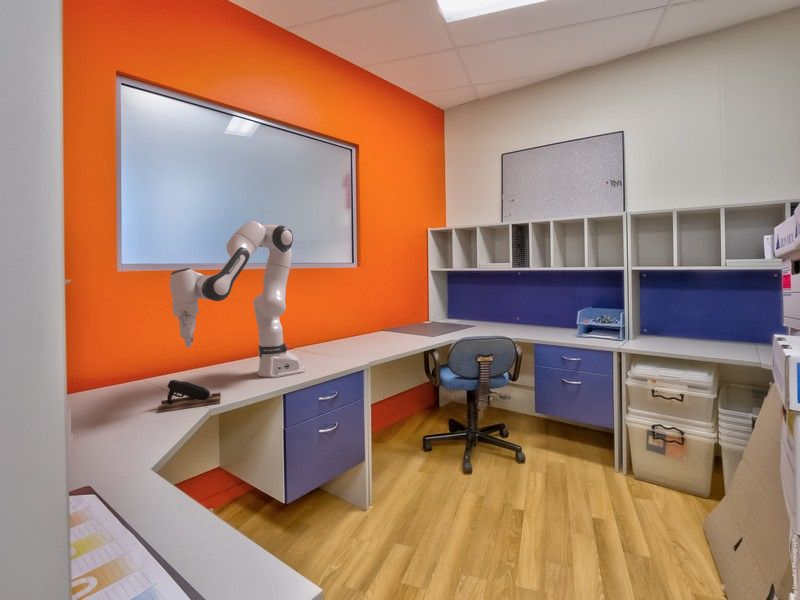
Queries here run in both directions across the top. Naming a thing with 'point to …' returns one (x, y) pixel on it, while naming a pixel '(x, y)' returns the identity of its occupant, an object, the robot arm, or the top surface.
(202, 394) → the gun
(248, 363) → the top surface
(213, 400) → the walnut stand
